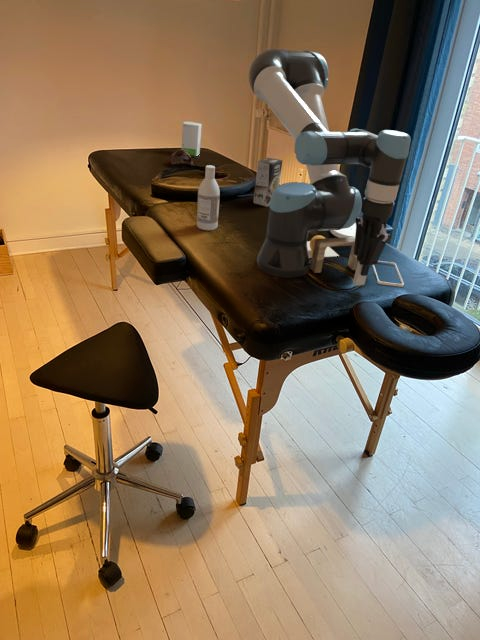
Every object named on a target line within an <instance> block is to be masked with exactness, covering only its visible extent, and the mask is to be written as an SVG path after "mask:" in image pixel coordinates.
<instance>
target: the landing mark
mask: <svg viewBox="0 0 480 640" xmlns="http://www.w3.org/2000/svg"><path fill="white" fill-rule="evenodd" d="M310 241H311V240H309V241H308V240H307V249H308V255H309V259H312V256H313V251H312V250H311V248H310ZM337 256H338V257H340V255H339V254H338V253H337V252H336V251H335V250H334V249H332V247H327V248H326V250H325V254H324V258H334V257H335V258H336V257H337ZM338 257H337V258H338Z"/></svg>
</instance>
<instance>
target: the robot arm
mask: <svg viewBox="0 0 480 640" xmlns="http://www.w3.org/2000/svg"><path fill="white" fill-rule="evenodd" d="M329 74H330V73H329V67H328V63H327V61H326V59H325V57H324V56H323V55H321V54H320V53H319V52H314V51H310V50H293V49H292V50H291V49H283V48H269V49H266V50H264V51H261V52H260V53H259V54H258V55H257V56H255V58H254V59H253V60H252V63H251V65H250V67H249V70H248V82H249V87H250V88H251V91H252V92H253V93H254V95H255V96H256V98H257V99H258V100H260V101H262V102H265V104H267V106H268V108H270V110H271V111H272V112H273V114H274V115H275V116H276V118H277V119H278V120H279V122H280V123H281V124H282V125H283V127H284V128H285V129H286V131H287V132H288V133H289V134H290V136H291V137H292V138H293V140H294V141H295V142H294V149H293V150H294V154H295V159H296V160H297V162H298V163H299V164H302V165H303V166H306V169H307V173H308V178H309V181H310V182H309V183H308V182H298V181H291V182H290V181H289V182H285V183H281V184H279V186H277V187H276V188H275V189H274V190H273V192H272V196H271V201H270V204H269V206H268V207H269V211H268V218H267V227H266V235H265V239H264V242H263V244H262V245H261V248H260V250H259V253H258V254H257V257H256V266H257V268H258V269H260V271H263V273H265V274H268V275H271V276H273V277H279V278H288V279H289V278H290V279H291V278H298V277H302V276H304V275H306V274H307V273H308V272H309V270H310V269H309V268H310V265H311V262H310V258H309V255H308V249H307V241H308V239H309V234H310V233H312V232H324V231H330V230H340V229H344V228H349V227H351V226H352V225H353V224H354V223H356V234H355V245H354V255H356V256H357V260H358V261H357V265H356V270H355V273H354V276H353V280H352V284H353V285H354V286H356V287H357V286H365V283H366V281H367V280H366V279H367V276H369V275H368V274H369V271H370V267H371V266H372V265H374V266H376V265H377V263H379V262H378V261H380V257H381V256H382V253H383V251H384V249H385V247H386V244H387V243H388V241H389V240H390V239H391V238H392V237H391V236H392V235H391V234H390V233H387V231H386V229H387V221H388V220H389V219H390V218H391V216H392V214H393V213H394V212H393V211H394V208H395V201H396V199H397V197H398V195H397V194H398V192H399V188H400V184H401V180H402V177H403V174H404V173H403V172H404V170H405V166H406V164H407V159H408V156H409V153H410V147H411V142H412V139H411V136H410V135H409V134H408V133H405V132H403V131H399V130H391V129H384V130H381V131H379V132H378V134H375V133H372V132H370V131H368V130H366V129H359V128H352V129H350V130H348V131H330V129H329V128H330V127H329V124H328V120H327V117H326V116H327V115H326V113H325V110H324V109H325V108H324V105H323V100H322V98H323V96H324V94H325V91H326V89H327V87H328V83H329V79H328V77H329ZM339 165H360V166H361V165H362V166H363V167H366V168H368V169H370V170H369V175H368V178H367V181H366V182H367V183H366V185H365V189H364V196H365V197H363V199H362V196H361V193H360V190H359V189H357V188H356V187H354V186H350V185H349V181H348V177H347V175H345V174H344V173H341V172H340V168H339ZM361 213H362V216H360V215H361ZM359 216H360V217H359Z"/></svg>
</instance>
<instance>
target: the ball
mask: <svg viewBox="0 0 480 640" xmlns="http://www.w3.org/2000/svg"><path fill="white" fill-rule="evenodd" d="M324 238H326V237H325V236H323V235H318V234H317V235H314V236H313V237H312V238H311V239H310V240H309V241H310V248H311V250H312V251H313V250H314V245H315V239H324ZM326 248H327V247H326ZM325 250H326V249H325Z"/></svg>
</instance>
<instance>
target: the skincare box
mask: <svg viewBox="0 0 480 640" xmlns="http://www.w3.org/2000/svg"><path fill="white" fill-rule="evenodd" d="M202 126H203V125H202V123H198V122H194V121H184V122H182V128H181V129H182V133H181V149H183V150H185V152H187V153H188V154H189V155H194V156H198V155H199V154H200V152H201V140H202V138H201V137H202V128H203V127H202ZM181 149H180V150H181ZM199 156H200V155H199Z"/></svg>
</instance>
